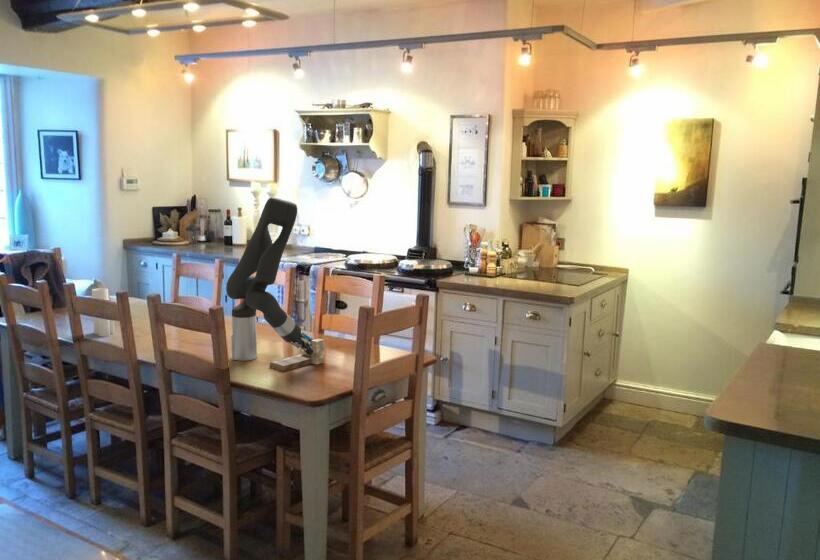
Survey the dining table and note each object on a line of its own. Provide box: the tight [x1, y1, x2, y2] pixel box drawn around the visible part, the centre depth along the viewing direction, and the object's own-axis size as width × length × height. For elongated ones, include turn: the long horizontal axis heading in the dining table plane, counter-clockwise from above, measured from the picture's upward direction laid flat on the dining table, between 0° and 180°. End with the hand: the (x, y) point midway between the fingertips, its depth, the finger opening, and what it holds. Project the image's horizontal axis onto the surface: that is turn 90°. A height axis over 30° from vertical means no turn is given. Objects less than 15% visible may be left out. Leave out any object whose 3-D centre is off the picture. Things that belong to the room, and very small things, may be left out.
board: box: [269, 353, 312, 372], centre depth 255 cm, size 20×8×2 cm, turn 141°
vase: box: [91, 287, 115, 338], centre depth 296 cm, size 11×7×20 cm, turn 46°
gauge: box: [300, 338, 325, 365], centre depth 257 cm, size 4×10×9 cm, turn 51°
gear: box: [301, 331, 314, 340], centre depth 276 cm, size 11×6×10 cm
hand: (310, 353), depth 252 cm, fingers closed
